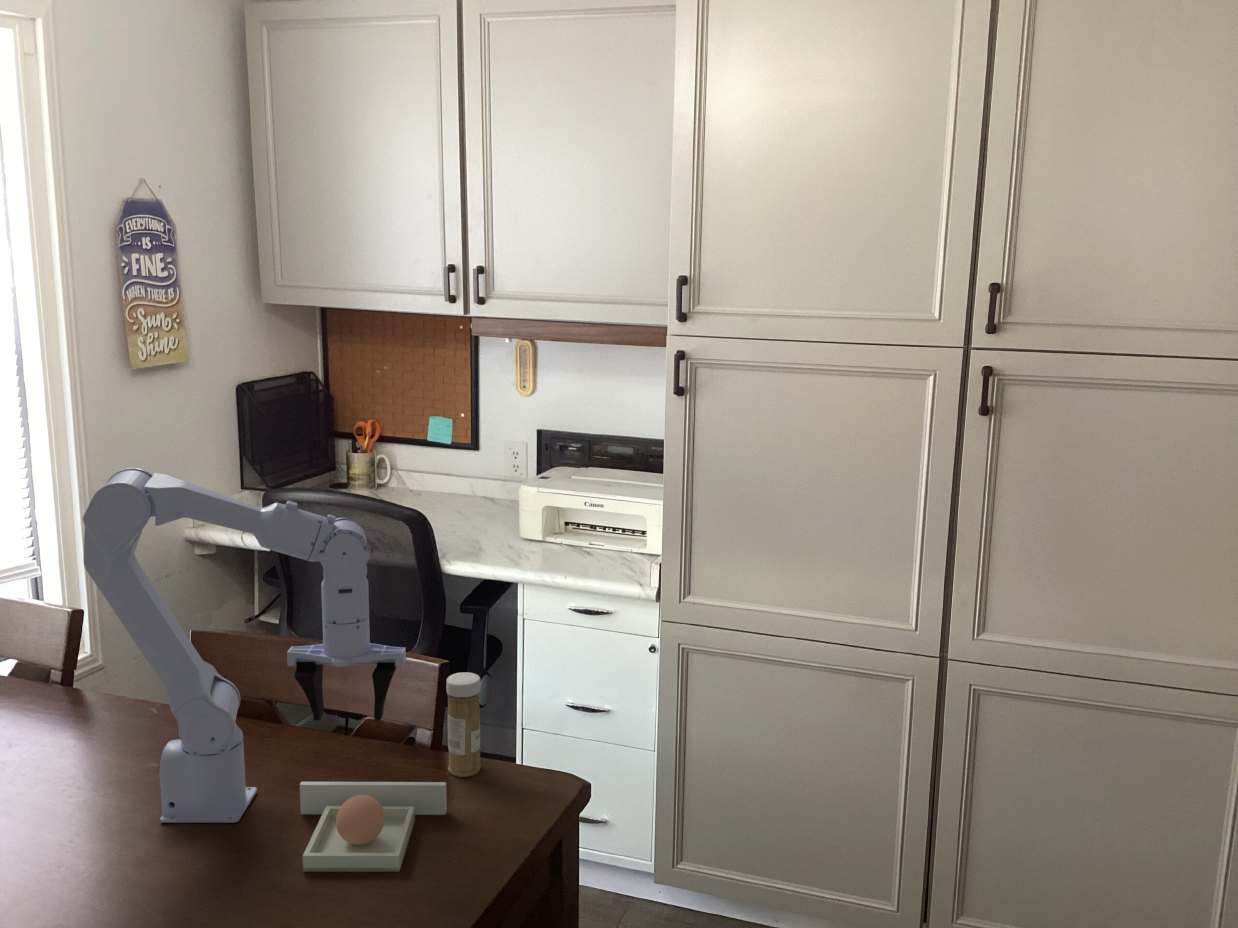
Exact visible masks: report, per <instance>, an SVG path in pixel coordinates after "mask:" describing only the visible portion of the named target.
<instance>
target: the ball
mask: <svg viewBox="0 0 1238 928" xmlns="http://www.w3.org/2000/svg"><path fill="white" fill-rule="evenodd" d="M384 822H385V814H384V810H383V808H382V806H381V804H380V803H379V802H378V801H377V800H376V799H375V798H373V797H371V796H368V795H357V796H353V797H351V798H349V799H348V800H347V801H345V802H344V803H343V804H342V806H341V807H340V809H339V811H338V813H337V816H336V827H337V831H338V833H339V835H340V836H341V837H342V838H343V839H344V840H345V841H346V842H348V843H350V844H353V845H363V844H367V843H369V842H371V841H373V840H374V839H375V838H376V837H377V836H378V835H379V834H380V832H381V831H382V829H383V826H384Z"/></svg>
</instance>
